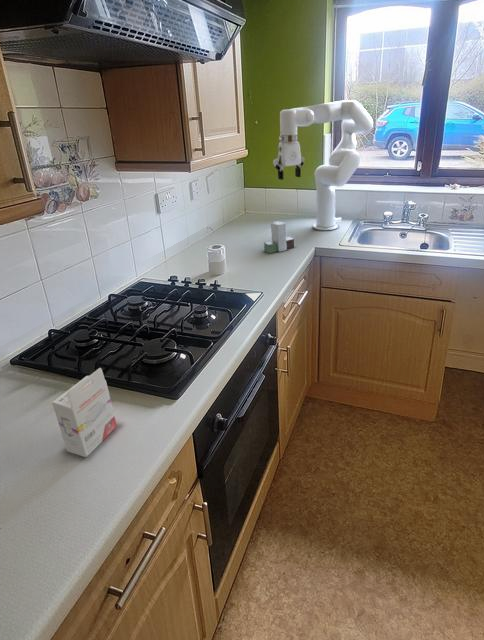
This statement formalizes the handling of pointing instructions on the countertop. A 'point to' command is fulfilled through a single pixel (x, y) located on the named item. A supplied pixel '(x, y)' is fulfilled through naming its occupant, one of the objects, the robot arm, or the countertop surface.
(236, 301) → the countertop surface
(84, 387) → the ink cartridge box
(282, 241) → the cosmetic box
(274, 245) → the sage block
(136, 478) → the countertop surface
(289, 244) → the walnut block
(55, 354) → the countertop surface
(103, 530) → the countertop surface
